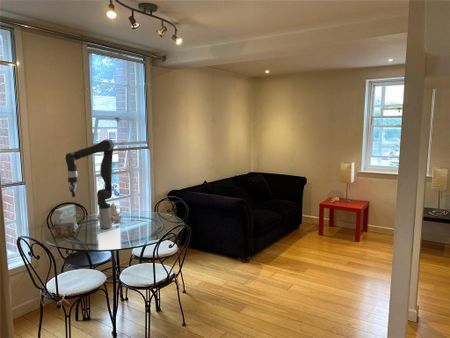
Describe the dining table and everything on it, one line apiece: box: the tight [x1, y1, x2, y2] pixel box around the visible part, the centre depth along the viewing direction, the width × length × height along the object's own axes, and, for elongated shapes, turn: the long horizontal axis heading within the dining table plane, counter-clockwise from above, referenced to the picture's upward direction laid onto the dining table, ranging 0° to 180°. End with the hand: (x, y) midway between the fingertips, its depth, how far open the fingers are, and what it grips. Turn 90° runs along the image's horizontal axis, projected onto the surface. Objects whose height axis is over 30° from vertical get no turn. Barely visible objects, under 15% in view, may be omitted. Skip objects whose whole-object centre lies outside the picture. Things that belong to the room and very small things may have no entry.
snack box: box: [54, 204, 77, 227], centre depth 294 cm, size 21×6×15 cm, turn 168°
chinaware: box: [95, 202, 124, 224], centre depth 305 cm, size 28×17×17 cm, turn 77°
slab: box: [60, 216, 78, 231], centre depth 265 cm, size 10×16×6 cm, turn 18°
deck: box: [54, 225, 74, 238], centre depth 269 cm, size 12×28×9 cm, turn 6°
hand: (73, 196), depth 279 cm, fingers closed
